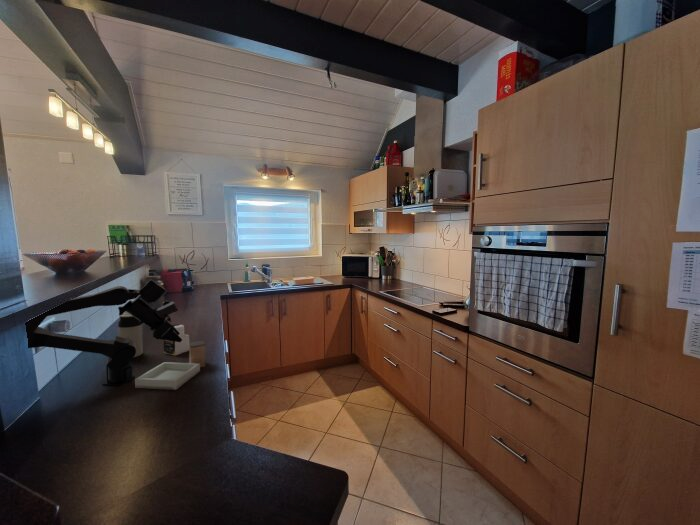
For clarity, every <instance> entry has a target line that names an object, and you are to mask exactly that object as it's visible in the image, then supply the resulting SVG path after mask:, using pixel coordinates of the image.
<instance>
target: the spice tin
mask: <svg viewBox="0 0 700 525" xmlns="http://www.w3.org/2000/svg"><path fill="white" fill-rule="evenodd" d="M188 354H189V355H188V359H189V360H188V363H198V364H200V368H204V367H206V343H205V342H204V340H197V341H196V340H195V341H192V342H191V341H189V351H188Z"/></svg>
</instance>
